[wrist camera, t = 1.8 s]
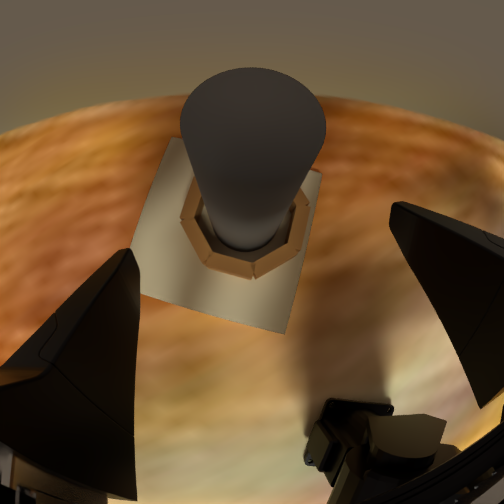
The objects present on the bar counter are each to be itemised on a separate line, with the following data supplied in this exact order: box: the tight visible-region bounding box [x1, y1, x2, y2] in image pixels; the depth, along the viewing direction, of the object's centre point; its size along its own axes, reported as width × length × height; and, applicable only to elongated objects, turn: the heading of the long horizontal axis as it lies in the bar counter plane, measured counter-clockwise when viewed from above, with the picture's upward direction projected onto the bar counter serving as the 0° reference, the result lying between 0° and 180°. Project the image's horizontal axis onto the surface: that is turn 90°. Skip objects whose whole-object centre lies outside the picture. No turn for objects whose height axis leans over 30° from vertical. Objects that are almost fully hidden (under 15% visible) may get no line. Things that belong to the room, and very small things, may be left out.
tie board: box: [130, 137, 322, 334], centre depth 21 cm, size 13×13×2 cm
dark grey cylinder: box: [180, 68, 326, 252], centre depth 16 cm, size 5×5×13 cm
